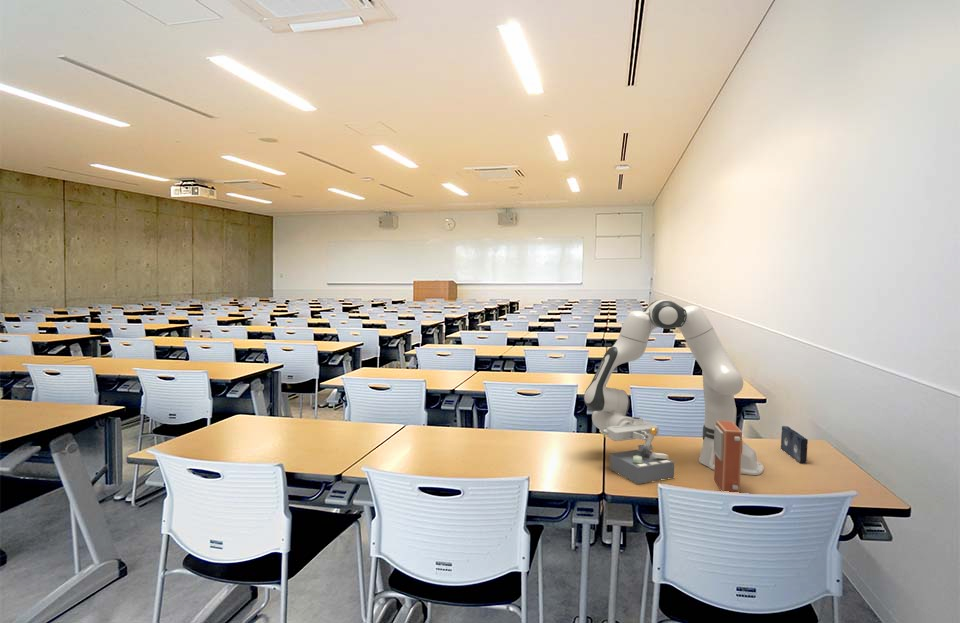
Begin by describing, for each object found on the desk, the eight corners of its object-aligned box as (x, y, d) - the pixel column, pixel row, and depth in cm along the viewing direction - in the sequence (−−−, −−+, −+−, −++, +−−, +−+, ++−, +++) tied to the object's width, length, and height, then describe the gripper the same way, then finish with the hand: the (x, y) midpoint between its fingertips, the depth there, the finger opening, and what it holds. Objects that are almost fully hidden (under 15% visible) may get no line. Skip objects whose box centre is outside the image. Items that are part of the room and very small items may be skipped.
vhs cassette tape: (806, 464, 206) (808, 439, 206) (798, 464, 207) (799, 438, 206) (788, 449, 224) (789, 426, 224) (780, 449, 225) (781, 425, 224)
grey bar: (639, 451, 200) (637, 445, 201) (651, 449, 202) (649, 444, 203) (640, 451, 199) (639, 445, 200) (652, 449, 201) (651, 443, 202)
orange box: (731, 479, 190) (743, 496, 175) (710, 478, 191) (720, 494, 177) (733, 420, 188) (745, 432, 174) (712, 419, 190) (722, 431, 175)
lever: (637, 452, 195) (649, 426, 188) (643, 451, 196) (655, 426, 189) (641, 457, 193) (653, 431, 186) (647, 456, 194) (659, 431, 187)
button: (631, 461, 190) (631, 456, 190) (638, 460, 191) (638, 455, 191) (636, 464, 187) (637, 458, 187) (643, 463, 188) (643, 457, 188)
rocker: (651, 455, 193) (652, 452, 193) (662, 456, 195) (663, 453, 195) (656, 458, 190) (657, 454, 190) (667, 458, 192) (668, 455, 192)
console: (609, 469, 199) (610, 449, 199) (644, 463, 205) (644, 444, 205) (637, 484, 185) (638, 463, 184) (673, 478, 191) (674, 457, 190)
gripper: (600, 422, 200) (623, 432, 188) (643, 417, 208) (668, 426, 195) (599, 438, 201) (622, 449, 188) (643, 433, 208) (668, 443, 196)
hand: (646, 437), depth 192 cm, fingers closed
